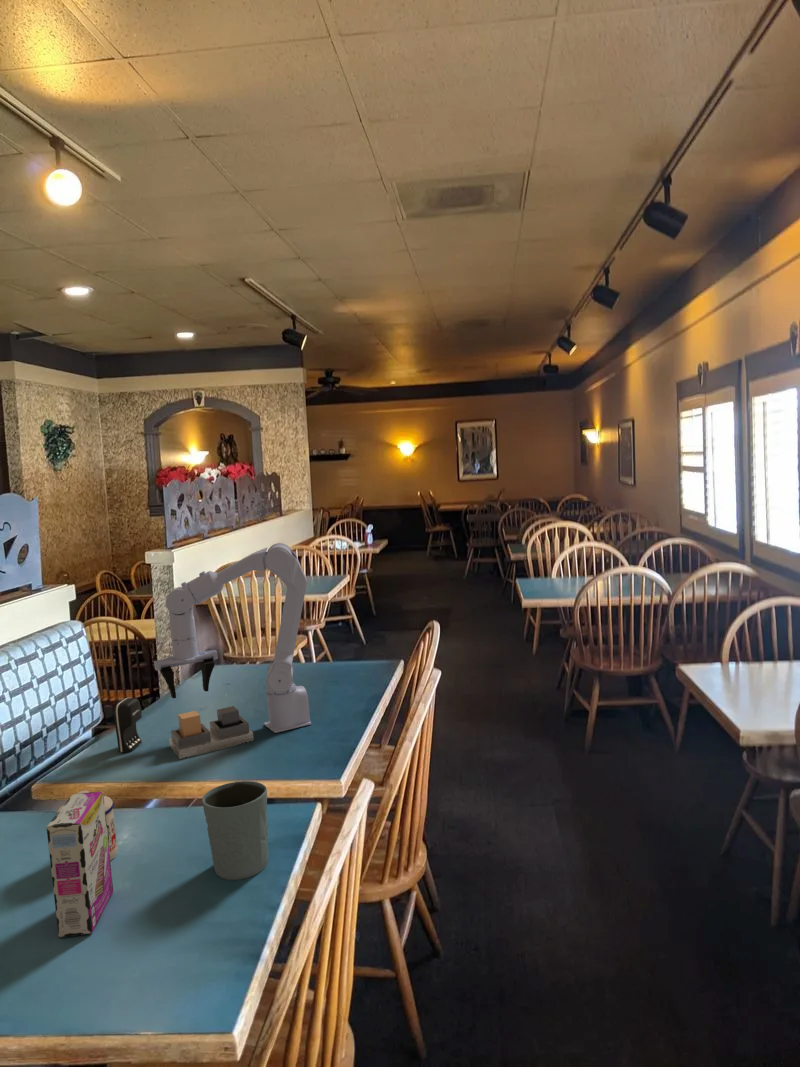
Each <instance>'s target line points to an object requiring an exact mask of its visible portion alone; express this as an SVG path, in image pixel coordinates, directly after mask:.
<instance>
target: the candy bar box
mask: <svg viewBox="0 0 800 1067" xmlns="http://www.w3.org/2000/svg"><path fill="white" fill-rule="evenodd" d="M104 796H105V795H104V791H94V792H93V791H92V792H90V791H89V793H82V794H77V793H75V794H73V793H72V794H71V795H70V797H69V798H68V799H67V801H66V802H65V803H64V804H63V805H64V806H63V805H62V806H63V807H62V808H61V809H60V811H59V812H58V813H57V812H56V813H57V814H56V813H55V815H54V816H53V817H52V819H51V820H50V821H49V823H48V824H47V826H45V829H46V836H47V843H48V844H47V845H48V853H49V861H50V872H51V880H52V889H53V897H54V906H55V917H56V923H57V924H56V925H57V932H58V934H57V936H58V938H62V937H61V936H71V937H74V936H73V935H81V934H89V935H92V934H93V933H94V930H95V928H96V927H97V925H98V923H99V920H100V919H101V917H102V915H103V913H104V910H105V909H106V907H107V905H108V903H109V902H110V899H111V897H112V895H113V893H114V884H113V875H112V866H111V861H110V855H109V845H108V836H107V824H106V814H105V806H104ZM92 932H93V933H92ZM91 933H92V934H91ZM81 936H82V935H81Z"/></svg>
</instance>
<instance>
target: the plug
mask: <svg viewBox="0 0 800 1067" xmlns="http://www.w3.org/2000/svg"><path fill="white" fill-rule="evenodd" d="M177 718H178V719H177V720H178V727H179V728H178V729H180V737H181V738H183V737H187V736H191V735H195V734H199V733H202V731H201V724H202V723H201V716H200V714H199V713H198V712H197V711H196V710H193V711H192V710H191V711H188V712H183V713H179V714H177Z"/></svg>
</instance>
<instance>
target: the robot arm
mask: <svg viewBox="0 0 800 1067" xmlns="http://www.w3.org/2000/svg"><path fill="white" fill-rule="evenodd" d="M266 569H267V570H268V571H269V572H271V573H272V574H274V575H275V576H277V577H278V578H279V579H280V580H281V581H282V582H283V584H284V585H285V586H286V593H285V598H284V602H283V603H284V604H283V609H282V613H281V617H280V618H281V620H280V625H279V629H278V635H277V641H276V645H275V650H274V656H273V660H272V661H271V662H270V663H269V665H268V668H267V674H266V678H265V682H266V683H265V684H266V687H267V688H266V689H265V690H266V702H267V711H268V721H265V722H264V724H263V725H264V726H265V727H267V728H268V729H269V730H270V731H271V732H273V733H275V734H277V733H280V732H285V731H289V730H294V729H297V728H300V727H305V726H309V725H312V721H311V715H310V714H311V713H310V706H309V704H310V703H309V696H308V692H307V690H306V688H305V687H304V686H303V685H296V684H295V682H294V677H293V676H294V666H293V661H294V652H295V649H296V644H297V643H296V642H297V637H298V633H299V627H300V622H301V617H302V611H303V607H304V606H303V605H304V601H305V596H306V590H307V585H308V584H307V582H308V579H307V577H306V574H305V572H304V570H303V568H302V565H301V563H300V561H299V558H298V556H297V554H296V553H295V552H294V551H293V550H292V549H291V548H290V546H289V545H287V544H285V543H283V542H280V543H279V542H277V543H275V544H271V546H270V547H269V548H268V546H267V547H264V548H261V549H259V550H256V551H255V552H253V553H251V554H248V555H247V556H245V557H243V558H241V559H240V560H238V561H236V562H235V563H233V564H231V565H229V566H227V567H226V568H224V569H222V570H221V571H218V572H215V571H211V570H208V571H207V572H206V571H204V570H203V571H201V572H199V574H198V575H199V576H197V577H196V578H193V579H191V580H190V581H188V582H186V581H183V582H182V583H181V584H180V585H181V586H178V587H175V588H174V589H172V590H171V591H170V592H169V593H168V594H167V596H166V598H165V607H166V609H167V611H168V617H169V628H170V629H169V630H170V638H171V647H172V656H169V657H166V658H163V659H159V660H155V661H153V663H154V664H153V666H154V670H155V671H156V672H158V671H159V672H160V674H161V675H162V677H163V678H164V680H165V682H166V685H167V687H168V690H169V693H170V697H171V698H172V699H176V698H177V692H176V687H175V686H176V685H175V671H173V668H175V667H180V666H185V665H190V664H195V663H199V664H200V669H201V670H200V671H201V678H202V689H203V691H204V692H205V693H206V692H209V687H210V680H211V676H212V672H213V670H214V668H215V664H216V662H215V660H218V659H219V656H218V651H217V650H216V649H212V650H211V649H210V650H205V651H202V650H201V651H199V648H198V638H197V630H196V622H195V616H194V608H193V606H194V605H200V604H202V603H203V602H205V601H207V600H209V599H211V598H213V597H214V596H217V595H218V594H220V593H221V592H223V588H224V585H226V584H228V583H230V582H233V581H235V580H236V579H238V578H240V577H242V576H244V575H246V574H248V573H250V572H252V571H255V572H256V571H258V572H265V571H266Z"/></svg>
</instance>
